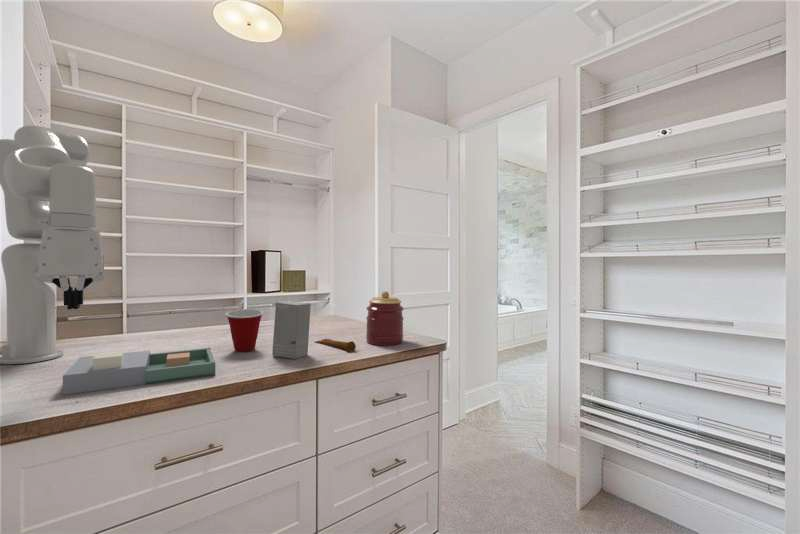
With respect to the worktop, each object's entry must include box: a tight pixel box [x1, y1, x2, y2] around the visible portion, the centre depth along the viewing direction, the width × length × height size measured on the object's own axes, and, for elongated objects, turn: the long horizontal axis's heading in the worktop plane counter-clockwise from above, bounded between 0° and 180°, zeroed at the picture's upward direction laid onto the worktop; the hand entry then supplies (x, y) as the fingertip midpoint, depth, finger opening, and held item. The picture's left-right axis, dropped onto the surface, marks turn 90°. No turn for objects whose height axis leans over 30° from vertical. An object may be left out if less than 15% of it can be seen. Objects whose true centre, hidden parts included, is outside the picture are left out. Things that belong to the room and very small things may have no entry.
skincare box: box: [272, 300, 312, 360], centre depth 109 cm, size 8×7×16 cm
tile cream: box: [92, 350, 125, 370], centre depth 82 cm, size 5×5×2 cm
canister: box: [365, 291, 405, 346], centre depth 128 cm, size 13×13×18 cm
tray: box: [145, 347, 216, 385], centre depth 93 cm, size 14×17×3 cm
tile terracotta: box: [166, 352, 190, 367], centre depth 96 cm, size 5×5×2 cm
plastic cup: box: [225, 308, 264, 353], centre depth 114 cm, size 11×11×12 cm
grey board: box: [62, 350, 151, 396], centre depth 86 cm, size 14×16×4 cm
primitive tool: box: [314, 338, 357, 353], centre depth 122 cm, size 19×6×4 cm, turn 45°
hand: (73, 308), depth 80 cm, fingers closed
